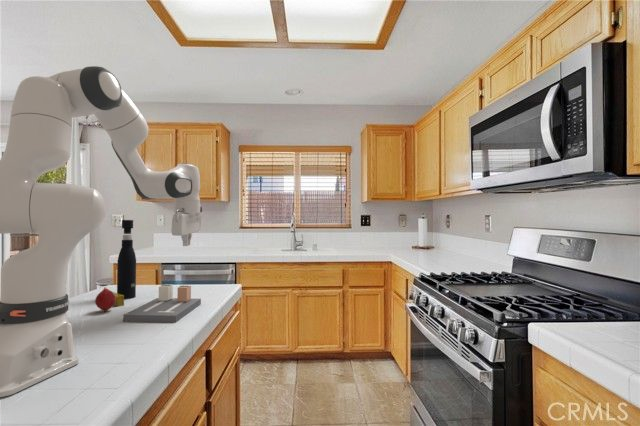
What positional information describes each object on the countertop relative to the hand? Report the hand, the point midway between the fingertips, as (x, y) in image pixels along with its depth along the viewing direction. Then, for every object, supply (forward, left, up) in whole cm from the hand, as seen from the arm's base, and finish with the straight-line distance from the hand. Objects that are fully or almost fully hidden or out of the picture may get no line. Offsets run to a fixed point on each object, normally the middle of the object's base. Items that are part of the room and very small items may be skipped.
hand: (186, 245), depth 132 cm
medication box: (-3, +25, -21) cm, 33 cm away
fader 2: (-6, -2, -19) cm, 20 cm away
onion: (-13, +22, -21) cm, 33 cm away
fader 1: (-5, +5, -19) cm, 20 cm away
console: (-13, +2, -21) cm, 25 cm away
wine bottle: (+7, +26, -21) cm, 34 cm away
